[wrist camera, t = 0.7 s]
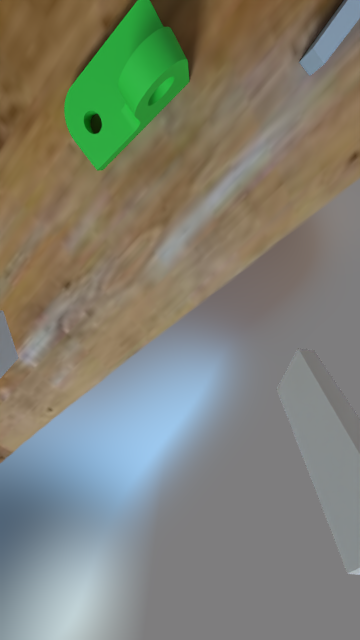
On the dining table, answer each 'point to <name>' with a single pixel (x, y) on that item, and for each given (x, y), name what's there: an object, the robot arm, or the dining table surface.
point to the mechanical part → (125, 84)
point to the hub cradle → (331, 35)
